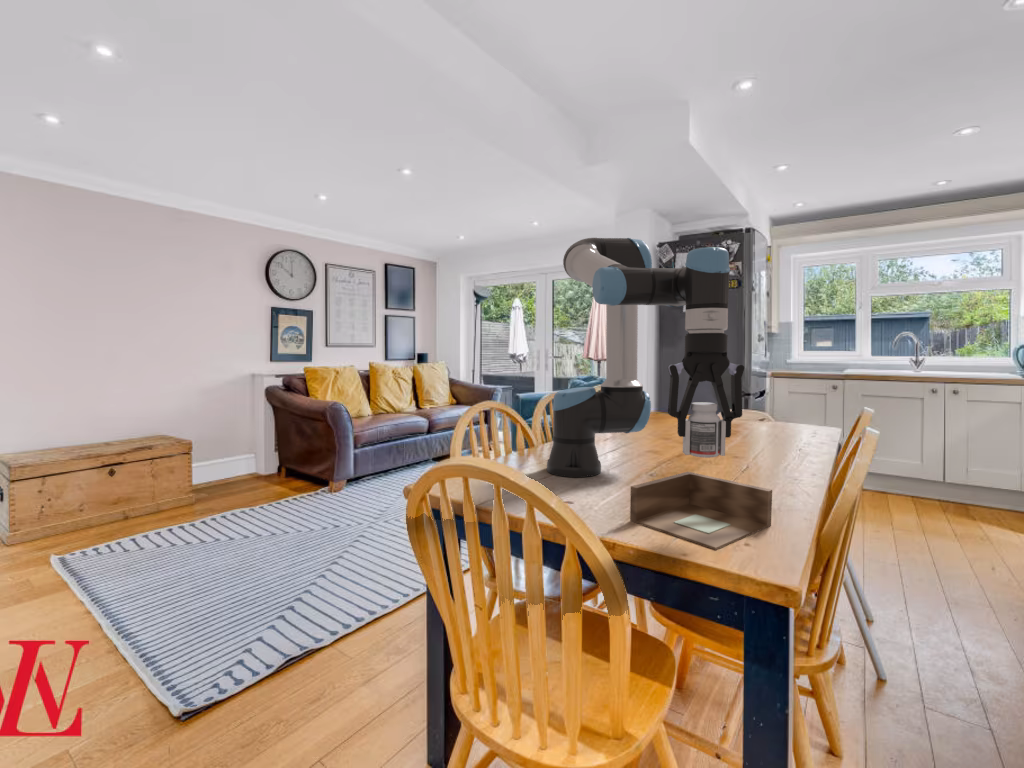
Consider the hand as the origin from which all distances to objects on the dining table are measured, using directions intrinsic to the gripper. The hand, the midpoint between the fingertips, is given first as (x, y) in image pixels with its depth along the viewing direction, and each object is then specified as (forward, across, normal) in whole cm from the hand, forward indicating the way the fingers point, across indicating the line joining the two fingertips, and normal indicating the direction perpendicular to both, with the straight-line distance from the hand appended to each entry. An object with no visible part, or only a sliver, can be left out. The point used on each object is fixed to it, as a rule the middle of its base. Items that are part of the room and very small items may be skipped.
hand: (703, 453), depth 96 cm
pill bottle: (0, 0, 0) cm, 0 cm away
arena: (+14, 0, +2) cm, 14 cm away
